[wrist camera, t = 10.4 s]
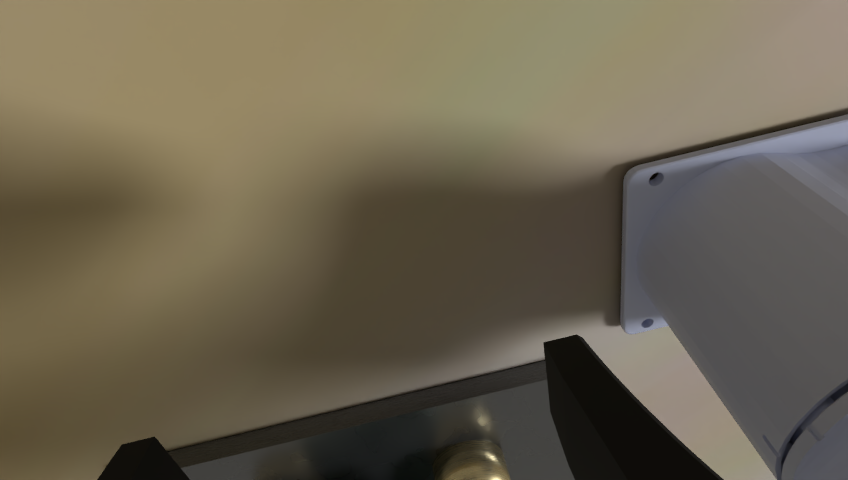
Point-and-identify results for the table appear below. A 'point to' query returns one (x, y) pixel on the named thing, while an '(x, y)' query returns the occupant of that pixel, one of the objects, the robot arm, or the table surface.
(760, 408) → the robot arm
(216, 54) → the table surface
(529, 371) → the chassis
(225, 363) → the table surface
